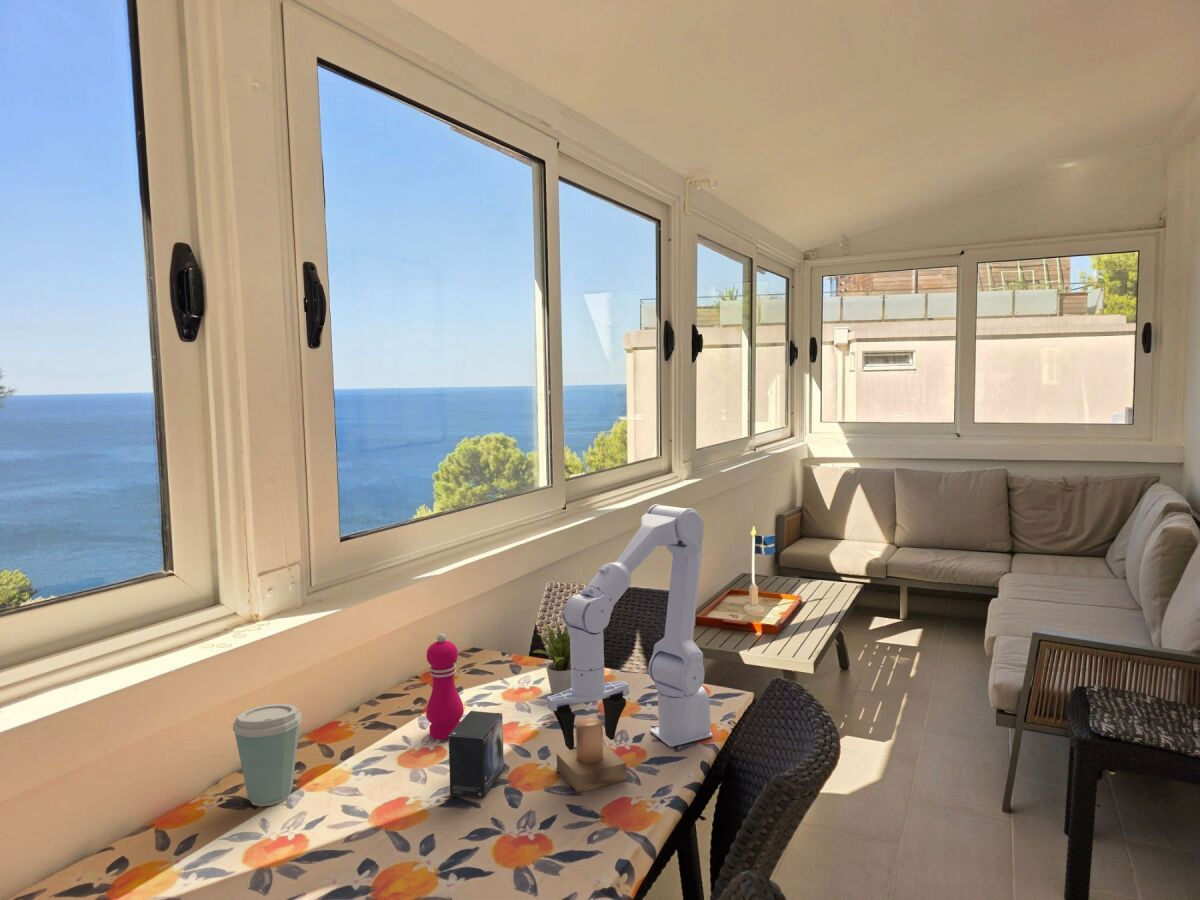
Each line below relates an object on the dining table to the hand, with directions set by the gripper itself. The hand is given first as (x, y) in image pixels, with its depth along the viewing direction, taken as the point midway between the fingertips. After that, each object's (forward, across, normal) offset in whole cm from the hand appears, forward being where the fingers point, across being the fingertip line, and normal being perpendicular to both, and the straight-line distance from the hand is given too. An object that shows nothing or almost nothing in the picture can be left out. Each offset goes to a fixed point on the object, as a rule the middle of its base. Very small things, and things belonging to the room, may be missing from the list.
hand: (590, 742), depth 136 cm
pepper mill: (+6, +18, -29) cm, 35 cm away
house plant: (+6, -10, -35) cm, 37 cm away
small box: (+6, +18, -7) cm, 20 cm away
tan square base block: (+6, 0, 0) cm, 6 cm away
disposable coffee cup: (+6, +50, -19) cm, 54 cm away
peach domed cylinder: (+3, 0, 0) cm, 3 cm away
